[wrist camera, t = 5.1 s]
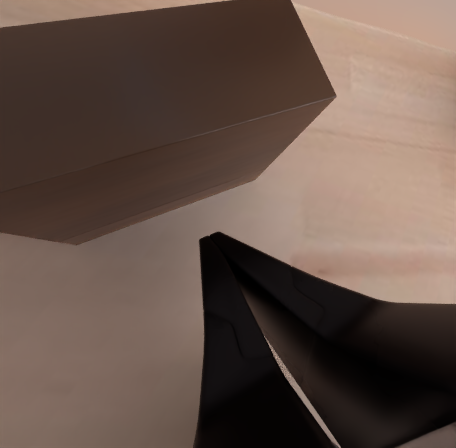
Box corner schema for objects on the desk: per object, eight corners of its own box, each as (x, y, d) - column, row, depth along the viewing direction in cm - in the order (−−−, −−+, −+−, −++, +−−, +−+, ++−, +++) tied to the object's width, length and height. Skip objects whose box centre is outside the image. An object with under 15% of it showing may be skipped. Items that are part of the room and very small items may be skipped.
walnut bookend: (255, 179, 19) (337, 96, 9) (75, 245, 15) (-90, 218, 6) (199, 53, 20) (223, -142, 10) (15, 87, 16) (-223, -173, 6)
